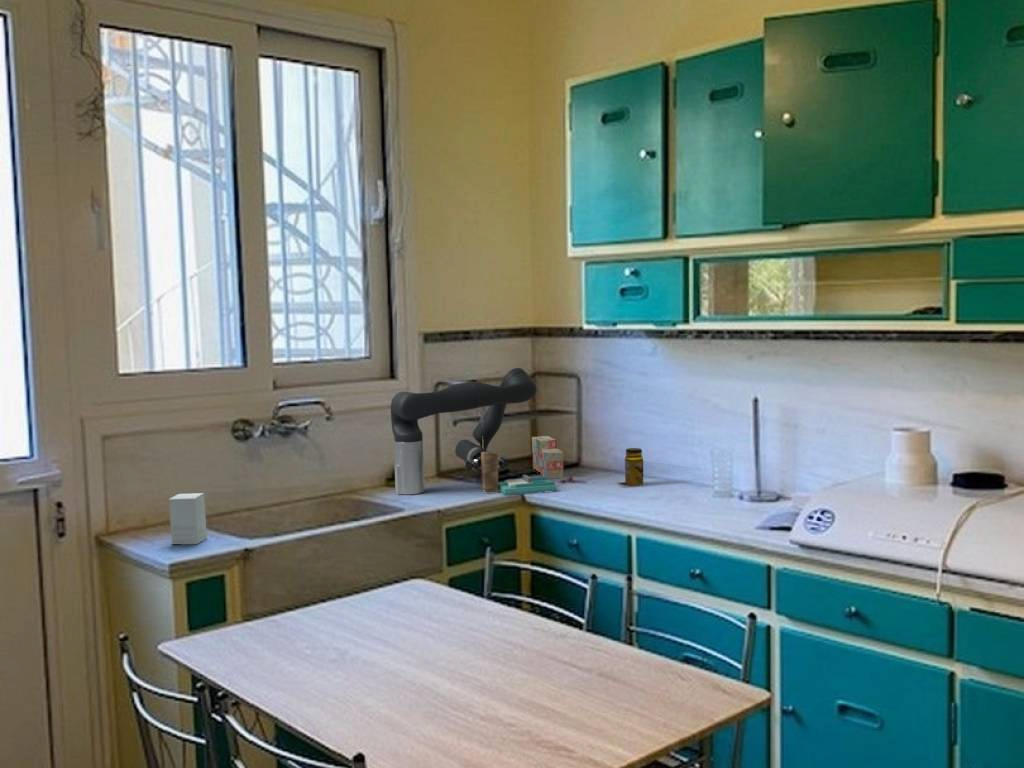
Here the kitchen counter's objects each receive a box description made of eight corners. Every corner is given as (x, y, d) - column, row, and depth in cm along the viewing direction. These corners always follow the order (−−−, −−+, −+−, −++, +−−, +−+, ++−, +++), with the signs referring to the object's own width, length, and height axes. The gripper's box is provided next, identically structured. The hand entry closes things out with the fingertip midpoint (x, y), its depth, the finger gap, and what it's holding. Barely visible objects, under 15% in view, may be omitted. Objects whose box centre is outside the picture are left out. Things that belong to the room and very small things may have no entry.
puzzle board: (505, 495, 324) (504, 486, 323) (496, 488, 335) (496, 479, 335) (555, 491, 328) (555, 482, 328) (545, 485, 339) (545, 476, 339)
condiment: (647, 486, 333) (646, 450, 332) (622, 487, 332) (621, 451, 331) (641, 482, 340) (640, 446, 339) (616, 483, 339) (616, 448, 338)
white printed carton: (564, 478, 352) (563, 443, 351) (546, 479, 351) (545, 444, 350) (549, 468, 373) (548, 435, 372) (532, 469, 372) (531, 436, 371)
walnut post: (485, 493, 328) (483, 453, 327) (482, 490, 332) (480, 451, 331) (498, 492, 329) (497, 453, 328) (495, 489, 333) (494, 451, 332)
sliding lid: (510, 487, 326) (510, 479, 326) (504, 482, 334) (504, 475, 334) (532, 485, 328) (532, 478, 328) (526, 481, 336) (526, 474, 335)
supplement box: (207, 538, 276) (205, 492, 275) (197, 544, 269) (195, 498, 268) (181, 538, 277) (178, 493, 276) (170, 545, 269) (167, 498, 268)
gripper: (500, 468, 346) (512, 476, 331) (459, 471, 343) (469, 479, 327) (499, 446, 346) (511, 453, 330) (459, 449, 342) (469, 456, 327)
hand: (490, 466), depth 329 cm, fingers open, 8 cm apart
